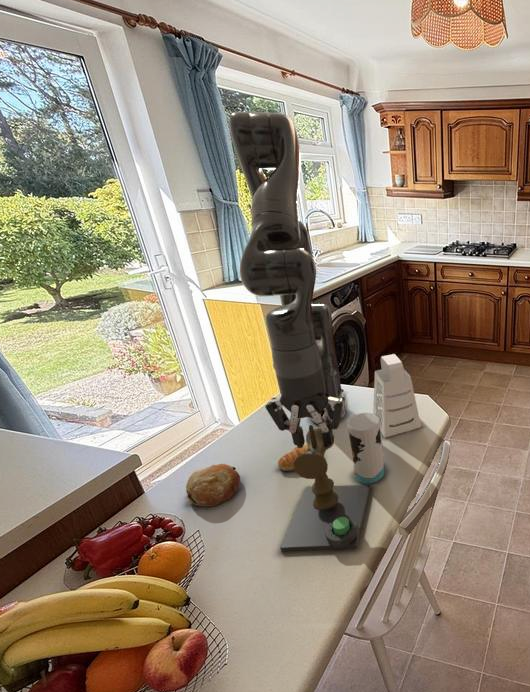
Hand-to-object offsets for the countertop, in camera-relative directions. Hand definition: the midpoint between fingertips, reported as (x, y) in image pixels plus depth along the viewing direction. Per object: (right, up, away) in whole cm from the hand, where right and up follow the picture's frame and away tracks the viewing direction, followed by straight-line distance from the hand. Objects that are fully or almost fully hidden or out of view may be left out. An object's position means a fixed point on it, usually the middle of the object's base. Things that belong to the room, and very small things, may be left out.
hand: (314, 444), depth 78 cm
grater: (+8, -1, +37) cm, 38 cm away
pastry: (-12, -8, +21) cm, 26 cm away
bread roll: (-27, -13, +12) cm, 32 cm away
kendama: (0, -14, +7) cm, 15 cm away
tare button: (+5, -16, 0) cm, 17 cm away
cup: (+6, -10, +18) cm, 22 cm away
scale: (+1, -16, +6) cm, 17 cm away
